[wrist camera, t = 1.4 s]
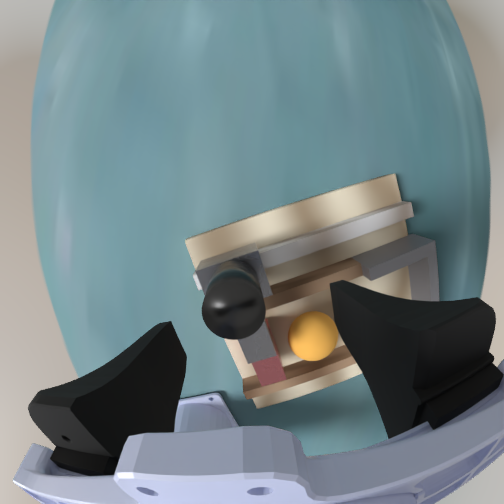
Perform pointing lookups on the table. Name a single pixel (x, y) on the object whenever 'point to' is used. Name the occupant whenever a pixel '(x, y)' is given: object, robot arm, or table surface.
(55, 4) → the table surface
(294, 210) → the beige grooved board
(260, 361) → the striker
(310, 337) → the ball
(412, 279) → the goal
